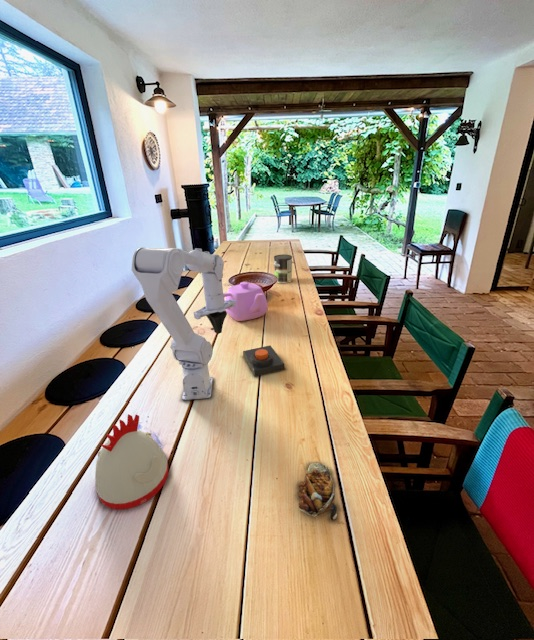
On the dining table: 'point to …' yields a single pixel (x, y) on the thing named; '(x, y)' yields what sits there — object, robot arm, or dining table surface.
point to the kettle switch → (263, 361)
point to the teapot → (246, 301)
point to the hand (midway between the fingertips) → (218, 332)
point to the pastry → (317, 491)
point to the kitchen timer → (129, 467)
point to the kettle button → (261, 354)
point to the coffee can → (283, 268)
